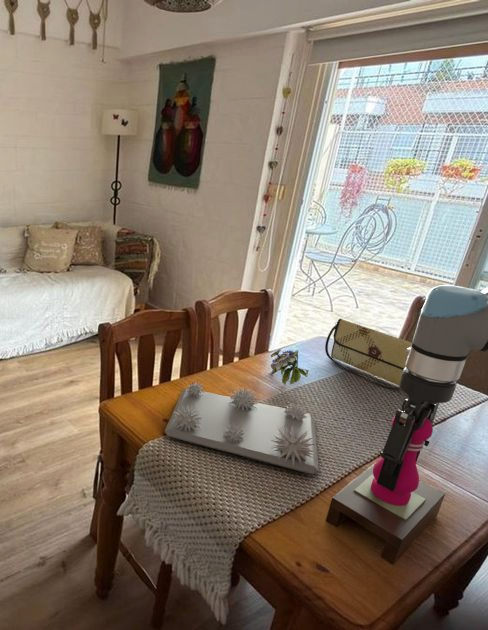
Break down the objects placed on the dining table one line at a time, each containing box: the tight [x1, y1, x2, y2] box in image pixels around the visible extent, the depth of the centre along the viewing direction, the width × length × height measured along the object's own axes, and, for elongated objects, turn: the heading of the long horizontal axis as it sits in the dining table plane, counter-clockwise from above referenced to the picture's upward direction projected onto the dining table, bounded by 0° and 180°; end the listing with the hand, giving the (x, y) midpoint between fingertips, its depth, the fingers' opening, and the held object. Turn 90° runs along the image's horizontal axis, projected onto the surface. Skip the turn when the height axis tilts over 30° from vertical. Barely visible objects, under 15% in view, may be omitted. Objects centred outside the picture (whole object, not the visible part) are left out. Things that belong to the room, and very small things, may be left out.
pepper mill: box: [371, 415, 434, 506], centre depth 83 cm, size 7×7×20 cm
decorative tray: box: [164, 381, 320, 475], centre depth 114 cm, size 35×26×10 cm
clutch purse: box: [324, 318, 412, 390], centre depth 142 cm, size 30×7×15 cm, turn 27°
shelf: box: [325, 462, 446, 565], centre depth 87 cm, size 12×20×6 cm, turn 124°
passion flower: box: [270, 348, 310, 386], centre depth 141 cm, size 11×11×12 cm
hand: (394, 477), depth 85 cm, fingers open, 7 cm apart
